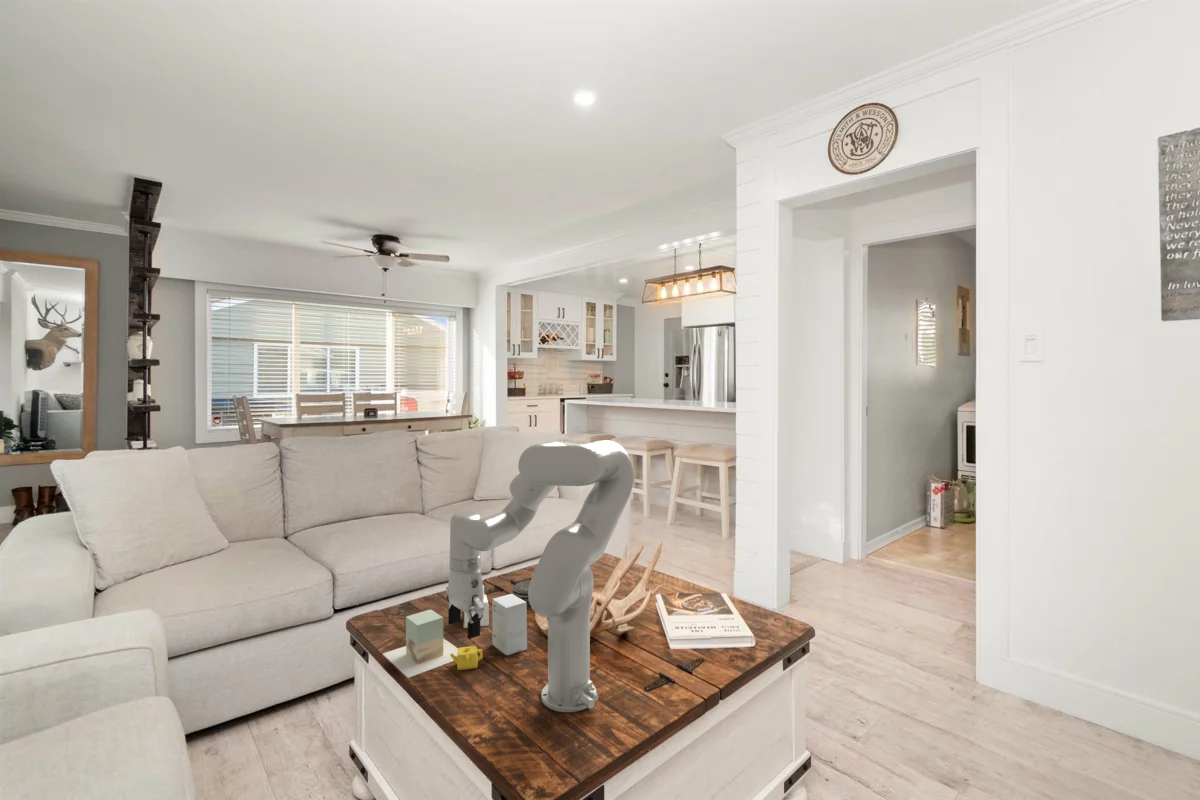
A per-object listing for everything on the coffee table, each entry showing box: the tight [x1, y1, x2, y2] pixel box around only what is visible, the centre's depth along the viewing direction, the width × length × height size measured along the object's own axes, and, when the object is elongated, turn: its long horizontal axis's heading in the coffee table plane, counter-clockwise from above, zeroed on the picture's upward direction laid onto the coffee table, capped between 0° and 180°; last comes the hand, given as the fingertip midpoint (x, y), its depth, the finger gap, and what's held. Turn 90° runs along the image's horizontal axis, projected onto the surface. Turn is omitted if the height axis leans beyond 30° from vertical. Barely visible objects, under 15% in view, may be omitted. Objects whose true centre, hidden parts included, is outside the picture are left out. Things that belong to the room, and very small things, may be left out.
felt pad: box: [382, 637, 459, 679], centre depth 146 cm, size 16×16×1 cm
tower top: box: [405, 609, 444, 645], centre depth 146 cm, size 7×7×5 cm
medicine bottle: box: [461, 581, 490, 629], centre depth 166 cm, size 7×7×12 cm
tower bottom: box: [405, 635, 444, 664], centre depth 146 cm, size 7×7×5 cm
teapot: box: [450, 645, 484, 671], centre depth 139 cm, size 8×6×5 cm
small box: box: [491, 593, 528, 656], centre depth 150 cm, size 8×6×13 cm
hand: (463, 629), depth 140 cm, fingers open, 9 cm apart
